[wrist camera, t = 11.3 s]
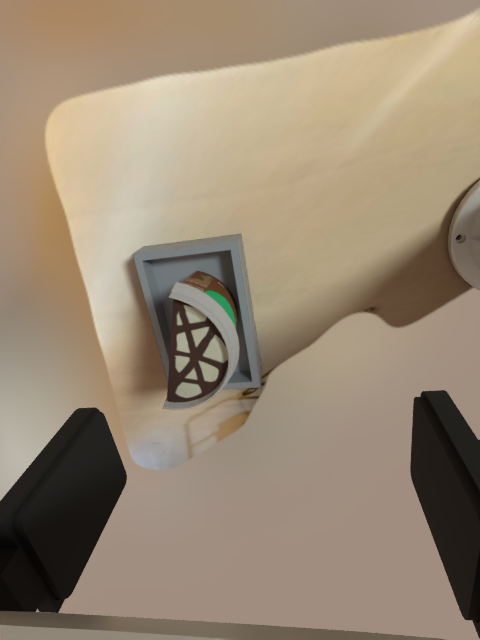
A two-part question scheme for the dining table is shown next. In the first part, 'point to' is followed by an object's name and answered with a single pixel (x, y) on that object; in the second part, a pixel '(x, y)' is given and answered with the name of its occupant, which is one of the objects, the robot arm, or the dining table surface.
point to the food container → (201, 341)
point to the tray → (177, 266)
